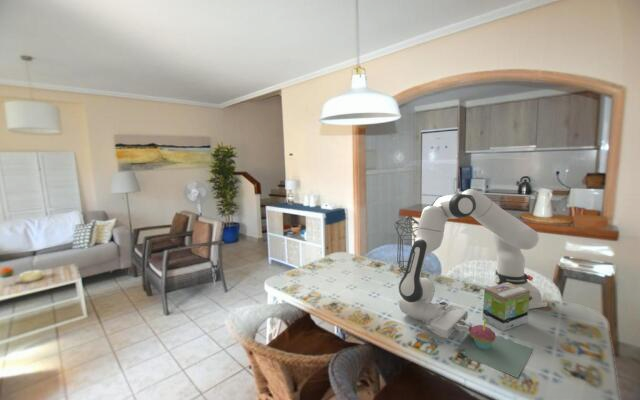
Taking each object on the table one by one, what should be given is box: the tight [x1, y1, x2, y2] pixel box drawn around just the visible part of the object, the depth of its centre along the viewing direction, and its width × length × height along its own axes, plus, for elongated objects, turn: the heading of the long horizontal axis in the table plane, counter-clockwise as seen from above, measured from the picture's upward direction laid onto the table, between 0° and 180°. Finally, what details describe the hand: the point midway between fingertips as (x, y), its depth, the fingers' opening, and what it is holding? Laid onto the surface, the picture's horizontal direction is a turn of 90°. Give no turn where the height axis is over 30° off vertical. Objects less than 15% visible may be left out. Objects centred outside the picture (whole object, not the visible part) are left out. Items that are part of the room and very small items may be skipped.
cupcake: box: [469, 318, 497, 349], centre depth 111 cm, size 9×8×12 cm
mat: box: [462, 334, 534, 379], centre depth 109 cm, size 20×20×1 cm
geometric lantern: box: [393, 215, 419, 275], centre depth 182 cm, size 16×16×35 cm
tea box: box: [482, 282, 530, 332], centre depth 125 cm, size 15×10×15 cm, turn 114°
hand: (470, 328), depth 114 cm, fingers closed
